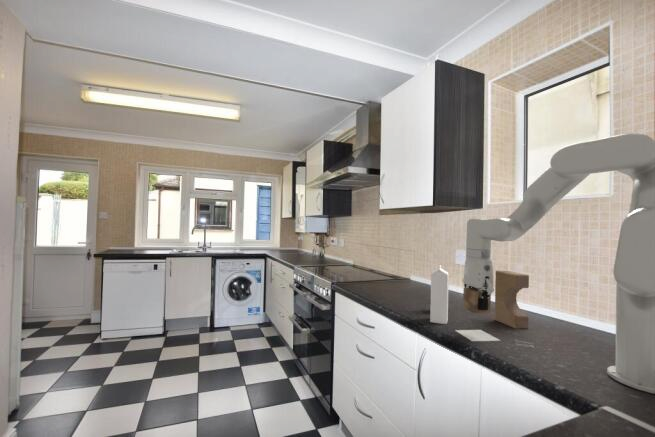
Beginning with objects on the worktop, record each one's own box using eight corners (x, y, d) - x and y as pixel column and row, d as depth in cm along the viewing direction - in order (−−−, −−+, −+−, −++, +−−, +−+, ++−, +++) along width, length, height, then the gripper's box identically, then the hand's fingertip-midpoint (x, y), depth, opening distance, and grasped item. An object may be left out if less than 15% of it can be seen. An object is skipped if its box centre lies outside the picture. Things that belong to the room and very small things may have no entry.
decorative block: (529, 329, 110) (529, 275, 111) (515, 329, 109) (516, 275, 110) (506, 319, 121) (507, 270, 122) (494, 320, 120) (494, 270, 121)
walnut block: (490, 312, 99) (490, 291, 99) (473, 312, 98) (474, 291, 99) (478, 307, 105) (479, 287, 105) (463, 307, 104) (463, 287, 105)
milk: (430, 322, 115) (430, 265, 116) (432, 318, 121) (432, 263, 121) (446, 324, 112) (447, 266, 113) (448, 320, 118) (448, 264, 119)
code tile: (545, 353, 88) (545, 352, 88) (506, 346, 93) (506, 345, 93) (541, 343, 97) (541, 342, 97) (505, 336, 102) (505, 335, 102)
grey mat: (500, 341, 97) (500, 340, 97) (472, 342, 96) (472, 341, 96) (480, 330, 107) (480, 329, 107) (454, 331, 106) (454, 330, 106)
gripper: (506, 257, 94) (504, 314, 94) (472, 252, 111) (470, 300, 111) (484, 257, 93) (482, 314, 93) (453, 251, 110) (452, 300, 110)
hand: (476, 306), depth 102 cm, fingers closed on walnut block, 6 cm apart
